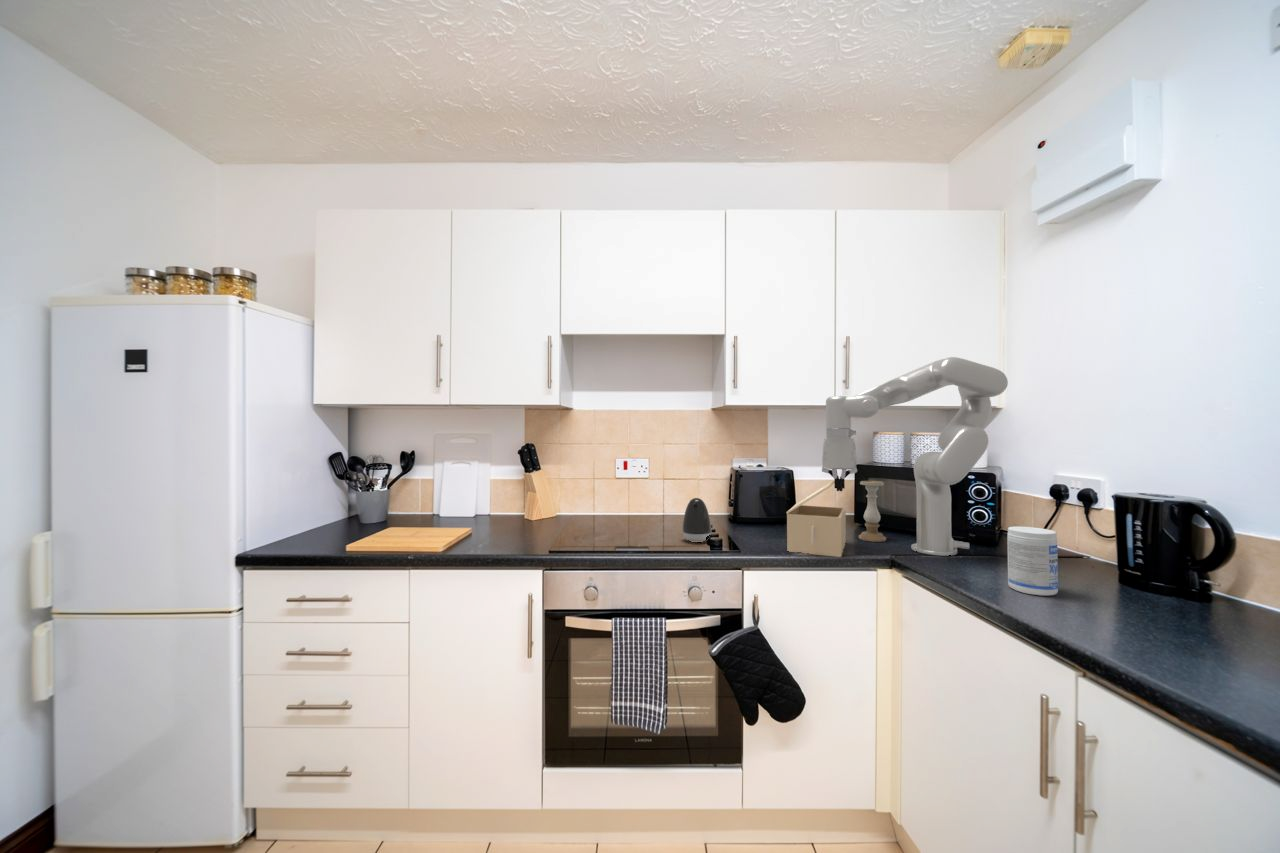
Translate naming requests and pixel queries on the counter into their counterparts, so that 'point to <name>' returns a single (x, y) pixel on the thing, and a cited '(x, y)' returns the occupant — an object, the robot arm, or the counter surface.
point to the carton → (816, 530)
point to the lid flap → (811, 496)
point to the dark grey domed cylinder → (696, 521)
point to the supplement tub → (1032, 560)
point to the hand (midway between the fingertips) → (839, 490)
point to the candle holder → (872, 514)
